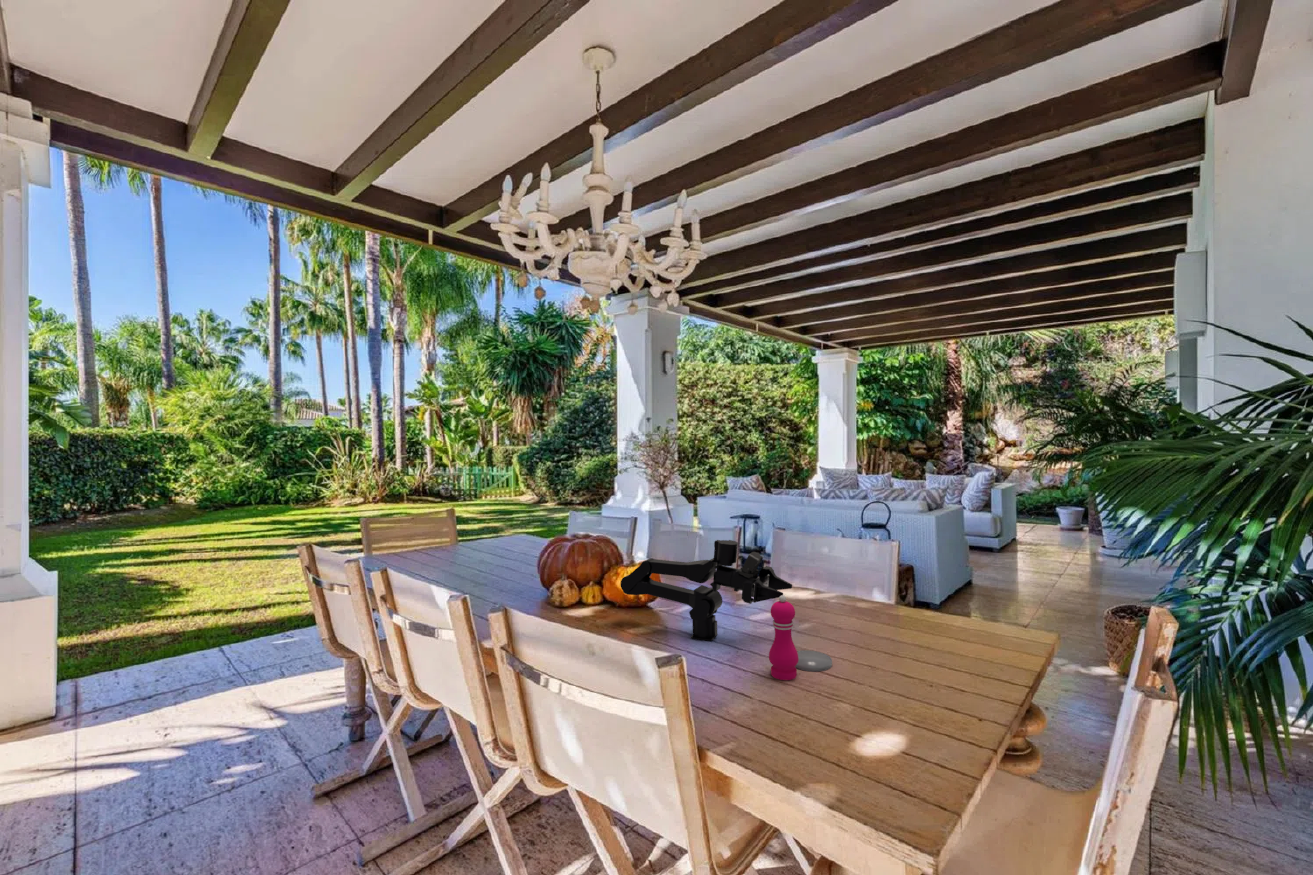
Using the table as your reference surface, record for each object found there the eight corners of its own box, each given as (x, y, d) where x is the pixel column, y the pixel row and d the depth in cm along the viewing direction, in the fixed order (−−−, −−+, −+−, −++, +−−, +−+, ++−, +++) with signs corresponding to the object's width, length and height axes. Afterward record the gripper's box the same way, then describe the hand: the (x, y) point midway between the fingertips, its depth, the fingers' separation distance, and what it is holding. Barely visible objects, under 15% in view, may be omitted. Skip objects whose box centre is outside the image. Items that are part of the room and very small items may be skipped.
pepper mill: (801, 671, 147) (800, 592, 147) (795, 683, 140) (794, 600, 140) (772, 667, 150) (771, 590, 150) (765, 678, 143) (764, 597, 143)
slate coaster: (785, 667, 149) (785, 663, 149) (792, 652, 160) (792, 648, 160) (829, 674, 145) (829, 669, 145) (834, 657, 155) (834, 653, 155)
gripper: (725, 557, 159) (780, 569, 152) (747, 545, 176) (799, 555, 169) (721, 597, 160) (776, 610, 153) (744, 581, 177) (795, 592, 169)
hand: (787, 590), depth 161 cm, fingers open, 9 cm apart
